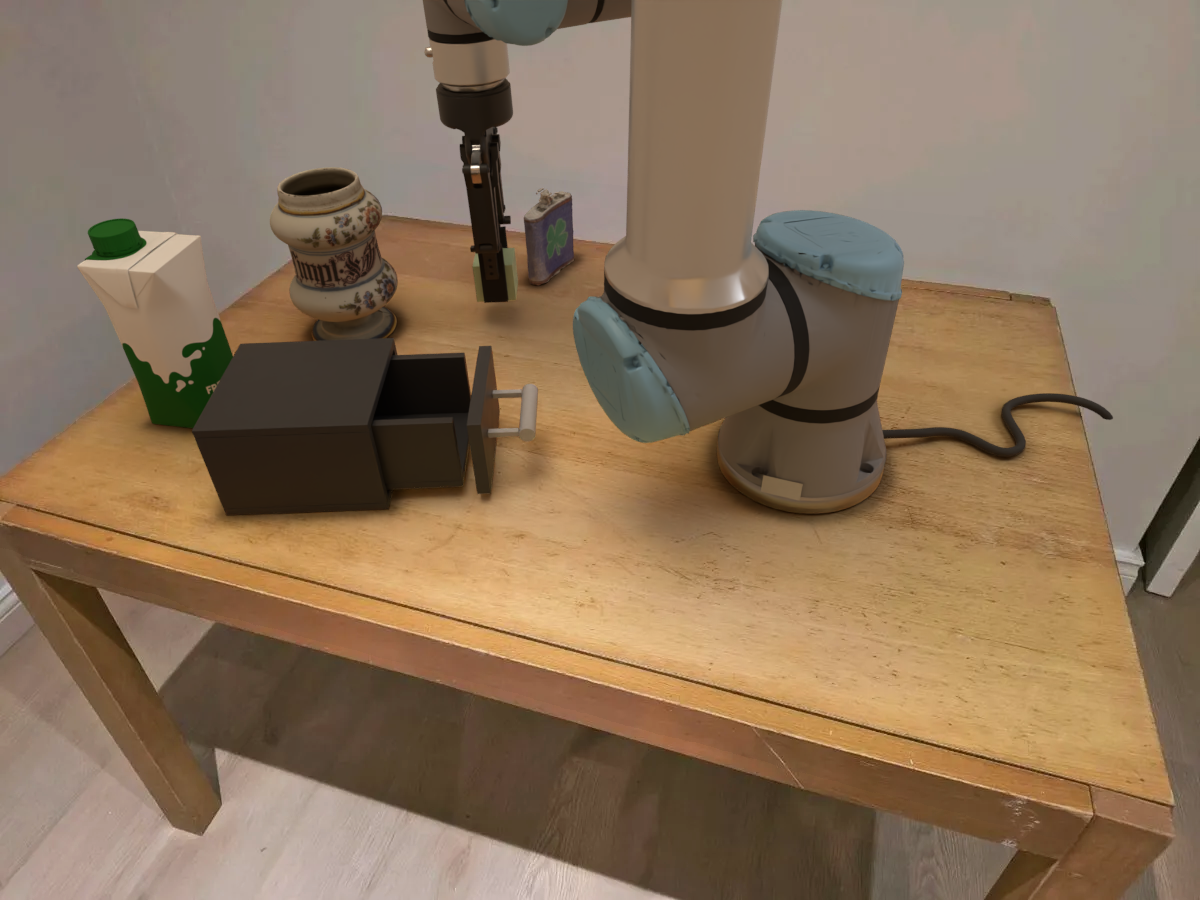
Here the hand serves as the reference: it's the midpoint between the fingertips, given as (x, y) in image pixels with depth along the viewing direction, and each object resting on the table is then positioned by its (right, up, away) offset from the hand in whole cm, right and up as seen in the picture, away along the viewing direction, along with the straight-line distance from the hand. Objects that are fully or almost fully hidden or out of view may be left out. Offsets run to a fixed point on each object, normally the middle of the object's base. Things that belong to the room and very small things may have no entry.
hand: (498, 289), depth 102 cm
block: (0, 0, 0) cm, 0 cm away
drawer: (-3, -19, -19) cm, 27 cm away
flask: (+6, +4, +11) cm, 13 cm away
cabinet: (-14, -20, -18) cm, 31 cm away
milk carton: (-30, -15, -11) cm, 35 cm away
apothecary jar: (-17, -5, +1) cm, 18 cm away
